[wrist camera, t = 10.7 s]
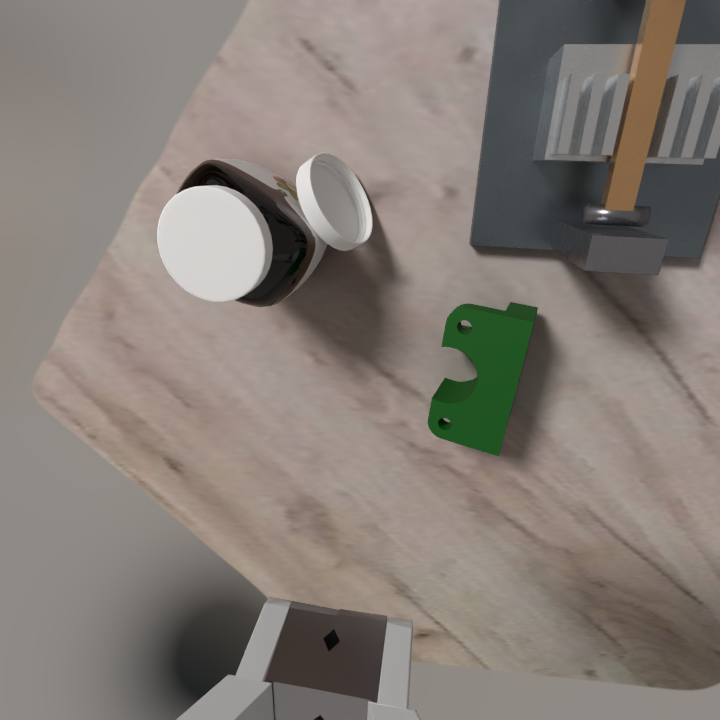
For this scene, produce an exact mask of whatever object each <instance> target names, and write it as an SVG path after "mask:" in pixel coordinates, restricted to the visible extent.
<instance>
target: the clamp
mask: <svg viewBox="0 0 720 720" xmlns="http://www.w3.org/2000/svg"><path fill="white" fill-rule="evenodd" d="M537 309H538V307H533V306H527V305H522V304H517V303H512V302H510V304H509V306H508V308H507V310H506V311H503V310H498V309H493V308H488V307H483V306H478V305H473V304H463V305H460V306H458V307H457V308H456V309H455V310H454V311H453V312H452V313H451V314H450V315H449V317H448V318H447V321H446V326H445V331H444V337H443V342H442V347H452V348H455V349H458V350H460V351H462V352H463V353H465V354H466V355H467V356H468V357H469V358H470V359H471V360H472V361H473V363H474V365H475V367H476V370H477V374H478V377H477V378H475V379H473V380H471V381H467V382H456V381H452V380H450V379H447V378H445V379H444V380H443V382H442V383H441V385H440V387H439V388H438V390H437V391H436V393H435V394H434V396H433V398H432V401H431V407H430V412H429V417H428V425H429V428H430V430H431V431H432V433H433V434H434V435H436V436H437V437H439V438H442V439H445V440H448V441H451V442H455V443H458V444H461V445H464V446H468V447H471V448H474V449H477V450H481V451H484V452H487V453H490V454H494V455H497V456H499V453H500V449H501V445H502V441H503V438H504V434H505V430H506V426H507V423H508V419H509V415H510V411H511V408H512V404H513V400H514V396H515V393H516V389H517V385H518V381H519V377H520V374H521V370H522V366H523V362H524V359H525V355H526V351H527V347H528V344H529V340H530V336H531V332H532V329H533V325H534V321H535V317H536V313H537ZM462 320H467V321H469V322H470V323H471V325H472V327H468V326H463V325H461V321H462ZM443 418H447V419H449V420H450V421H451V422H450V423H449V422H446V421H444V419H443Z"/></svg>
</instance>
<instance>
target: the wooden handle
mask: <svg viewBox="0 0 720 720" xmlns="http://www.w3.org/2000/svg"><path fill="white" fill-rule="evenodd" d="M685 3H686V0H646V3H645V8H644V12H643V16H642V21H641V25H640V30H639V34H638V39H637V43H636V48H635V52H634V57H633V61H632V66H631V70H630V74H631V75H630V79H629V84H628V88H627V92H626V97H625V101H624V106H623V110H622V115H621V119H620V124H619V128H618V132H617V137H616V141H615V146H614V150H613V155H611V160H610V164H609V169H608V173H607V178H606V182H605V187H604V191H603V196H602V200H601V204H584V206H583V208H582V211H581V217H580V221H581V224H592V225H612V226H632V227H646V226H647V224H648V223H649V220H650V217H651V208H650V207H649V206H635V202H636V198H637V194H638V190H639V186H640V182H641V178H642V174H643V170H644V166H645V162H646V158H647V154H648V150H649V146H650V142H651V138H652V134H653V130H654V126H655V122H656V118H657V114H658V110H659V106H660V102H661V98H662V94H663V90H664V86H665V82H666V78H667V74H668V70H669V66H670V62H671V59H672V55H673V51H674V47H675V43H676V39H677V35H678V31H679V27H680V23H681V19H682V15H683V11H684V7H685Z"/></svg>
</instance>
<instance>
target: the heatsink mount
mask: <svg viewBox="0 0 720 720" xmlns="http://www.w3.org/2000/svg"><path fill="white" fill-rule="evenodd" d="M645 3H646V0H499V7H498V16H497V24H496V32H495V40H494V48H493V56H492V64H491V72H490V81H489V89H488V97H487V105H486V113H485V121H484V129H483V137H482V146H481V154H480V162H479V170H478V178H477V186H476V194H475V203H474V211H473V219H472V227H471V235H470V245H473V246H490V247H508V248H526V249H543V250H556V251H557V252H559V253H560V254H562V255H563V256H564V257H566V258H567V259H569V260H570V261H571V262H573V263H574V264H576V265H577V266H578V267H580V268H581V269H583V270H584V271H597V272H613V273H629V274H646V275H659V271H660V268H661V264H662V261H663V257H664V256H666V257H684V258H700V255H701V252H702V249H703V246H704V243H705V240H706V237H707V234H708V230H709V227H710V224H711V221H712V218H713V215H714V212H715V208H716V205H717V202H718V199H719V196H720V0H686V3H685V7H684V11H683V15H682V19H681V23H680V27H679V31H678V35H677V39H676V43H675V47H674V51H673V55H672V59H671V62H670V66H669V70H668V74H667V78H666V82H665V86H664V90H663V94H662V98H661V102H660V106H659V110H658V114H657V118H656V122H655V126H654V130H653V134H652V138H651V142H650V146H649V150H648V154H647V158H646V162H645V166H644V170H643V174H642V178H641V182H640V186H639V190H638V194H637V198H636V202H635V206H649V207H650V208H651V217H650V220H649V223H648V224H647V226H646V227H632V226H612V225H592V224H581V221H580V217H581V211H582V208H583V206H584V204H601V200H602V196H603V191H604V187H605V182H606V178H607V173H608V169H609V164H610V160H611V155H613V150H614V146H615V141H616V137H617V132H618V128H619V124H620V119H621V115H622V110H623V106H624V101H625V97H626V92H627V88H628V84H629V79H630V75H631V74H630V70H631V66H632V61H633V57H634V52H635V48H636V43H637V39H638V34H639V30H640V25H641V21H642V16H643V12H644V8H645Z"/></svg>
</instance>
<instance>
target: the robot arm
mask: <svg viewBox="0 0 720 720" xmlns="http://www.w3.org/2000/svg"><path fill="white" fill-rule="evenodd" d="M386 625H387V626H386ZM412 635H413V622H412V620H405V619H399V618H392V617H388V618H387V616H384V615H377V614H371V613H364V612H357V611H350V610H344V609H340V610H337V609H332V608H327V607H321V606H316V605H311V604H306V603H300V602H295V601H290V600H284V599H278V598H273V597H269V598H268V600H267V601H266V603H265V604H264V607H263V609H262V611H261V614H260V616H259V619H258V621H257V624H256V627H255V629H254V631H253V634H252V636H251V639H250V641H249V644H248V646H247V648H246V651H245V654H244V656H243V658H242V661H241V664H240V666H239V669H238V671H237V674H236V676H234V675H227V676H226V677H225V678H224V679H223V680H222V681H220V682H219V683H218V684H217V685H216V686H215V687H214V688H212V689H211V690H210V691H209V692H208V693H207V694H205V695H204V696H203V697H202V698H201V699H200V700H199V701H197V702H196V703H195V704H194V705H193V706H192V707H190V708H189V709H188V710H187V711H186V712H185V713H184V714H182V715H181V716H180V717H179V718H178V719H177V720H420V718H419V715H418V714H417V711H416V710H411V709H408V705H409V687H410V670H411V669H410V668H411V652H412Z"/></svg>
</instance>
